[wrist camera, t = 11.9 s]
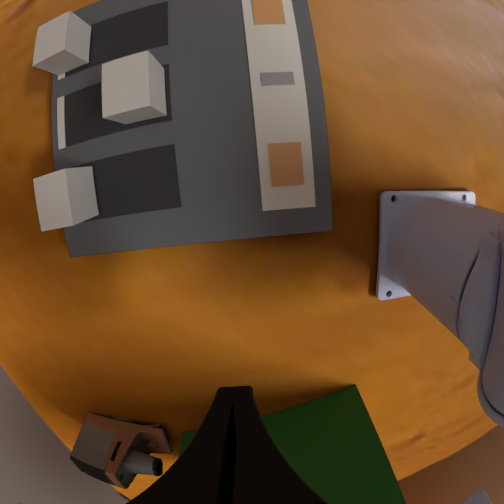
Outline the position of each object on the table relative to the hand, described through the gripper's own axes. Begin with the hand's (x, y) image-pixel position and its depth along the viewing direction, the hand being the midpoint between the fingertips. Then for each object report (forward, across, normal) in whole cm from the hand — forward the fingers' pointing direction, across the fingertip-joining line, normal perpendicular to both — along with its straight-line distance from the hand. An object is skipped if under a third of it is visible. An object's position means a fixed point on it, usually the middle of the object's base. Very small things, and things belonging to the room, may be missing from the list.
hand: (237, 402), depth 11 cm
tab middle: (+7, +4, -14) cm, 16 cm away
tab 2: (+7, +9, -9) cm, 15 cm away
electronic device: (+10, +14, +15) cm, 23 cm away
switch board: (+9, +2, -14) cm, 17 cm away
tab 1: (+7, +9, -19) cm, 22 cm away
